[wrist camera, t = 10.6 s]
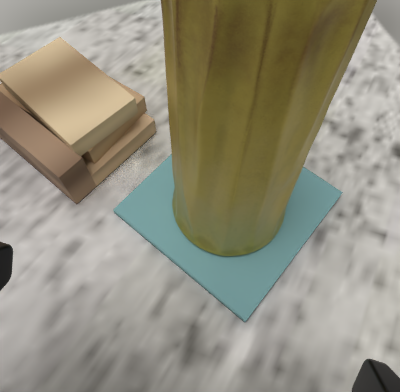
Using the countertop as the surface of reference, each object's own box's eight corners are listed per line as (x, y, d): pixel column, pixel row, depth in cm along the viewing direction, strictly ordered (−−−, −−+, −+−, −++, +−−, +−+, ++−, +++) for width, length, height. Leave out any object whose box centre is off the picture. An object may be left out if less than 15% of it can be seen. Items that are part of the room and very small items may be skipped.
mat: (340, 195, 21) (342, 192, 21) (244, 322, 18) (245, 321, 18) (216, 114, 24) (217, 110, 23) (114, 212, 21) (113, 209, 20)
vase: (304, 234, 20) (498, -41, 7) (196, 275, 19) (192, 40, 6) (255, 144, 22) (332, -177, 10) (157, 176, 21) (97, -136, 9)
